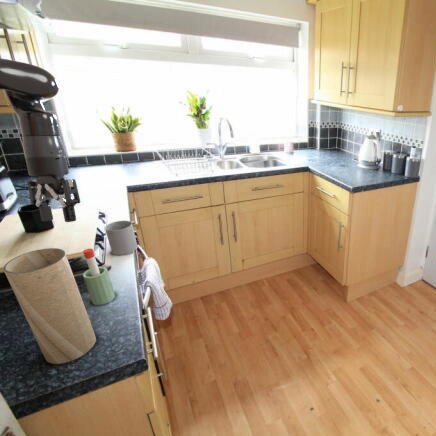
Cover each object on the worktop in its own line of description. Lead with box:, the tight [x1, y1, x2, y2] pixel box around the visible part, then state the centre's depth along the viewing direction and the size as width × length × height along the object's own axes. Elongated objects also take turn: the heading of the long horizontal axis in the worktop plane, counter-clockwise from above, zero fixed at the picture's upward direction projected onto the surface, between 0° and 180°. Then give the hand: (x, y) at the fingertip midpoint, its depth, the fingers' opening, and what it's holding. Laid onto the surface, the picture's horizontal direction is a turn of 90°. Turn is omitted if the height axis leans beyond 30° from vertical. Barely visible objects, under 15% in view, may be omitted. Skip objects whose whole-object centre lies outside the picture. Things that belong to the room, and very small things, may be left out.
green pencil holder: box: [82, 266, 116, 306], centre depth 92 cm, size 6×6×10 cm
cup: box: [104, 220, 139, 256], centre depth 117 cm, size 8×8×10 cm
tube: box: [3, 247, 97, 365], centre depth 72 cm, size 10×10×25 cm
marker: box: [82, 248, 100, 277], centre depth 90 cm, size 2×2×16 cm
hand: (59, 221), depth 80 cm, fingers open, 8 cm apart
